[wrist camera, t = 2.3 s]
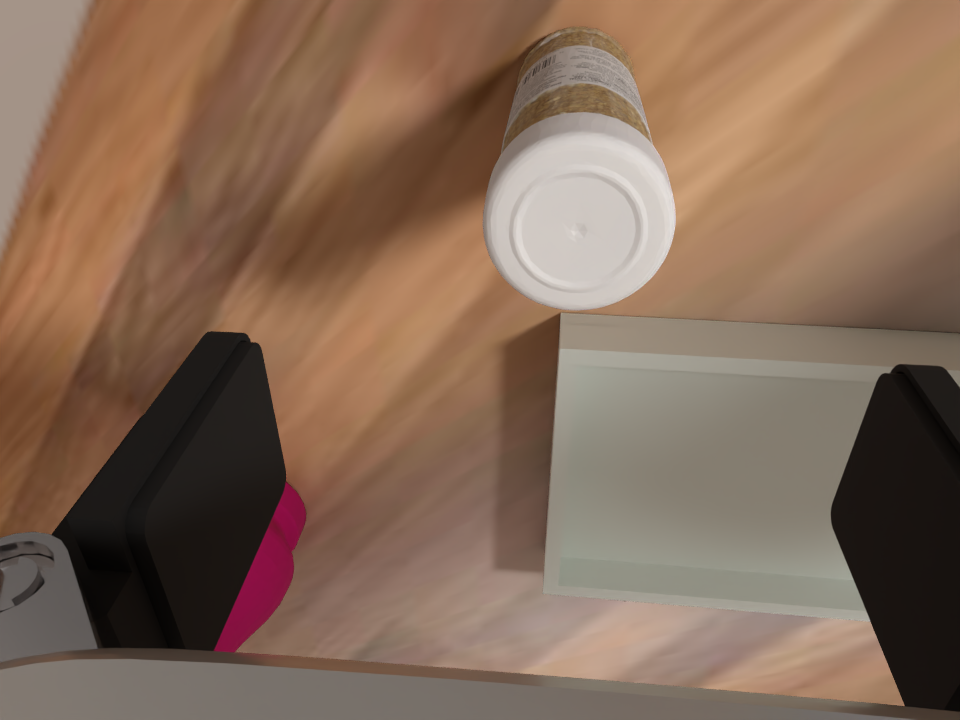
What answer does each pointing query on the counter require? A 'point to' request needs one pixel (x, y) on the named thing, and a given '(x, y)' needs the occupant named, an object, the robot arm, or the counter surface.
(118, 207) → the counter surface
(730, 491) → the tray
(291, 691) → the robot arm
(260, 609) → the pepper mill
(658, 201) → the sprinkles bottle
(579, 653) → the counter surface
